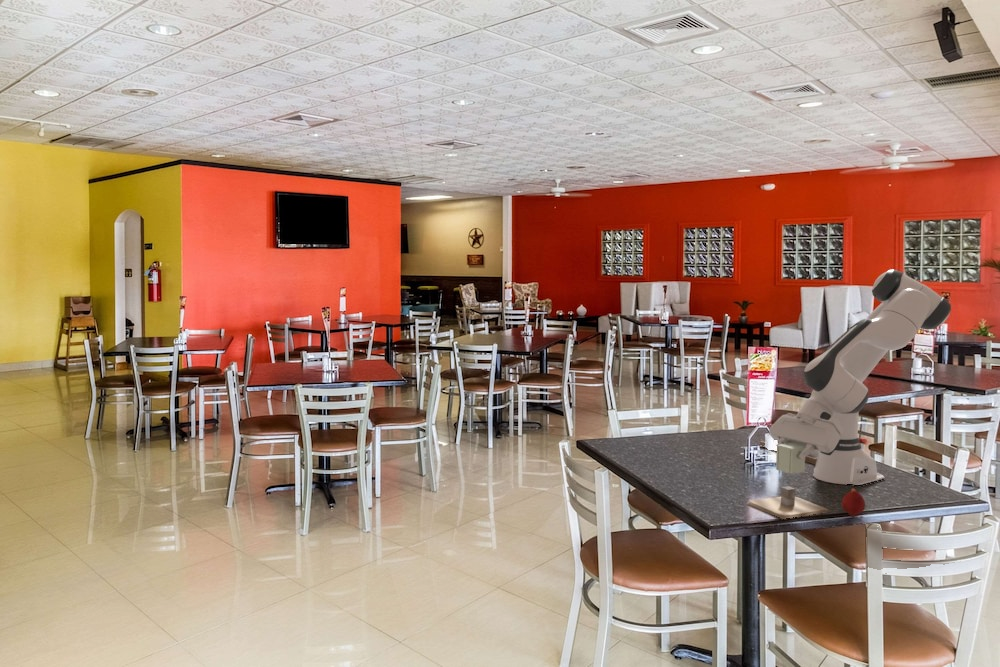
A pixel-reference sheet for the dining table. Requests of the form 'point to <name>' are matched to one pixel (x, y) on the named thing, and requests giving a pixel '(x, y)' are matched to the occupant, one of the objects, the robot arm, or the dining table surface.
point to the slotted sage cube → (789, 458)
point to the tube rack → (807, 458)
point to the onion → (853, 503)
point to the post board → (788, 511)
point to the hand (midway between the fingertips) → (789, 455)
